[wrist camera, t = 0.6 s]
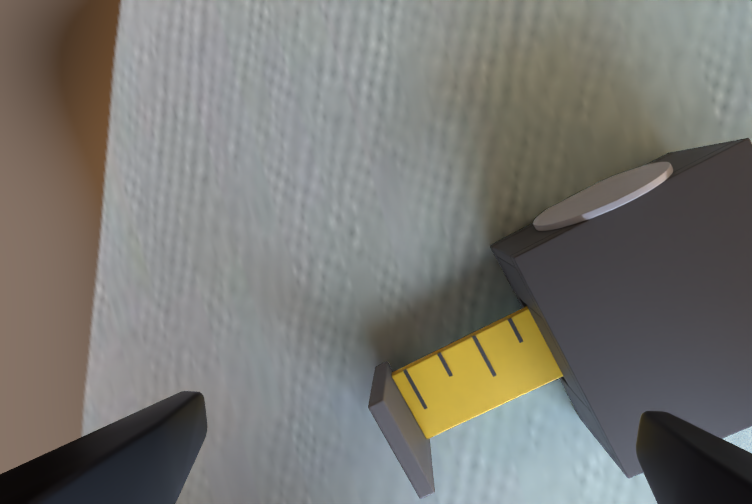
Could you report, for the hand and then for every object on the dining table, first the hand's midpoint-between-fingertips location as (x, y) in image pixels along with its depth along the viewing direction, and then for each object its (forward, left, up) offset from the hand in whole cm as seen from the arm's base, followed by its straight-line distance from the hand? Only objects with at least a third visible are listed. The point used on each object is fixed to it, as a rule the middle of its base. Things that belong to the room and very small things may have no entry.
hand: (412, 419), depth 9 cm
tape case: (+10, -6, -14) cm, 18 cm away
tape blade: (+1, -6, -14) cm, 15 cm away
